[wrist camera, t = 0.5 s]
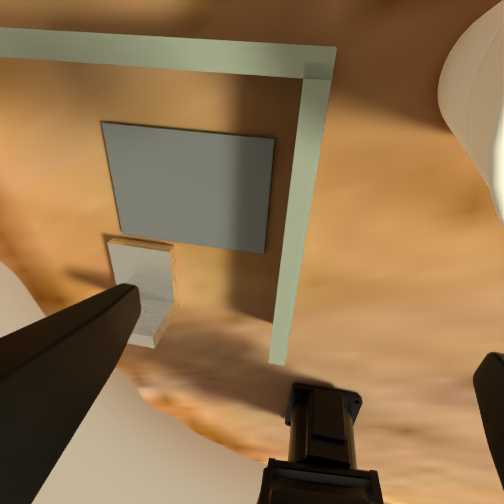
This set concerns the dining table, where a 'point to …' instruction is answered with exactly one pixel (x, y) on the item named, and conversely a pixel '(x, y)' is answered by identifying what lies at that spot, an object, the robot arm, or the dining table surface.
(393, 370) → the dining table surface
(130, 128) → the pad
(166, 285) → the bracket
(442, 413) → the dining table surface
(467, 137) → the cup
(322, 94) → the corner frame
